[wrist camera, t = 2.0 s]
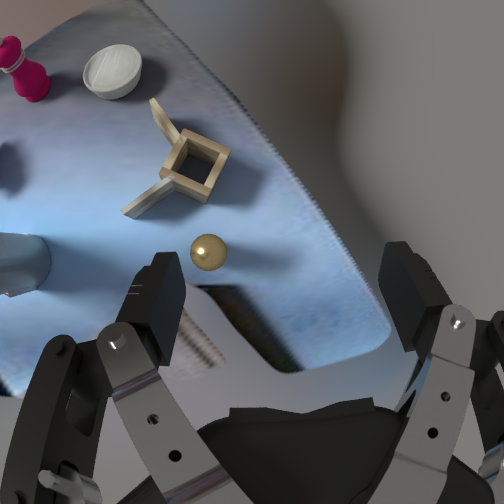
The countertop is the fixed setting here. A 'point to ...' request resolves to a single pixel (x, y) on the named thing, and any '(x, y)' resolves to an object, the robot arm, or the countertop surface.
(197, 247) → the brass peg
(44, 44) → the countertop surface
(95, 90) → the ramekin
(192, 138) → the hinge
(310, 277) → the countertop surface
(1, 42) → the pepper mill
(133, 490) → the robot arm
